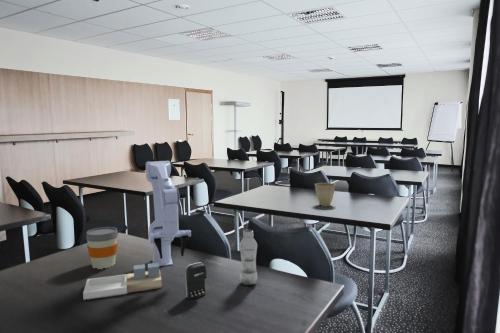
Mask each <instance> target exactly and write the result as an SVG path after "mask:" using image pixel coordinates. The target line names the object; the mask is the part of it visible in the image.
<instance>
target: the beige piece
mask: <svg viewBox="0 0 500 333" xmlns="http://www.w3.org/2000/svg"><path fill="white" fill-rule="evenodd" d="M159 274H160V277H154V278H148V270H145V276H146V279H139V280H134V272H132V273H131V272H130V273H127V294H128V293H133V292H134V293H135V292H141V291H147V290H148V291H149V290H154V289H161V288H162V287H163V286H162V285H163V284H162V275H161V270H160V269H159Z"/></svg>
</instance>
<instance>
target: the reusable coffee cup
mask: <svg viewBox="0 0 500 333" xmlns="http://www.w3.org/2000/svg"><path fill="white" fill-rule="evenodd" d="M118 237H119V233H118V228H117V227H113V226H103V227H95V228H91V229H88V230H87V231H86V238H85V241H86V242H87V245H86V246H87V252H88V256H89V257H90V259H91V260H90V261H91V265H92V266H91V267H92V268H93V269H95V268H97V269H96V270H104V269H103V268H105V269H110V268H112V267H114V266H115V265H116V258H117V257H116V255H117V253H118V244H119V241H118ZM114 264H115V265H114ZM113 265H114V266H113ZM111 266H112V267H111Z"/></svg>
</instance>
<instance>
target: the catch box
mask: <svg viewBox="0 0 500 333" xmlns="http://www.w3.org/2000/svg"><path fill="white" fill-rule="evenodd" d="M127 274H128V273H127ZM127 274H116V275H109V276H99V277H94V278H87V279H86V282H85V286H84V289H83V292H82V296H83V297H82V298H83V300H82V301H86V299H87V300H92V299H101V298H106V297H107V298H108V297H114V296H121V295H128V293H127Z"/></svg>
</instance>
